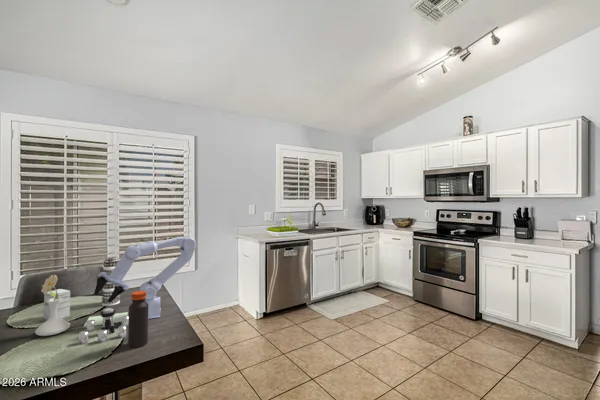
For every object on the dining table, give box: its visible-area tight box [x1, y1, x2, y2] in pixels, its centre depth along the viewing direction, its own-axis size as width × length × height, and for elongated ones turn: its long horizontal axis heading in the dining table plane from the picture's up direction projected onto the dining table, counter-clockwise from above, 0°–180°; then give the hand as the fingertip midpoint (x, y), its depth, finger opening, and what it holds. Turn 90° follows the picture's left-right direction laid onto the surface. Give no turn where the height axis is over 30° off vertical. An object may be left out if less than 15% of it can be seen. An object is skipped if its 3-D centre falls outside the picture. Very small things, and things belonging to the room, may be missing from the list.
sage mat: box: [82, 311, 129, 328], centre depth 138 cm, size 16×12×1 cm
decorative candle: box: [101, 256, 121, 307], centre depth 161 cm, size 9×9×25 cm
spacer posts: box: [78, 314, 129, 345], centre depth 124 cm, size 16×18×4 cm
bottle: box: [127, 290, 149, 349], centre depth 115 cm, size 7×7×20 cm
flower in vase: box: [35, 274, 71, 337], centre depth 124 cm, size 13×11×25 cm
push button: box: [95, 307, 117, 336], centre depth 124 cm, size 7×5×10 cm
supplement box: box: [43, 288, 71, 321], centre depth 140 cm, size 7×7×13 cm
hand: (102, 298), depth 132 cm, fingers open, 7 cm apart
